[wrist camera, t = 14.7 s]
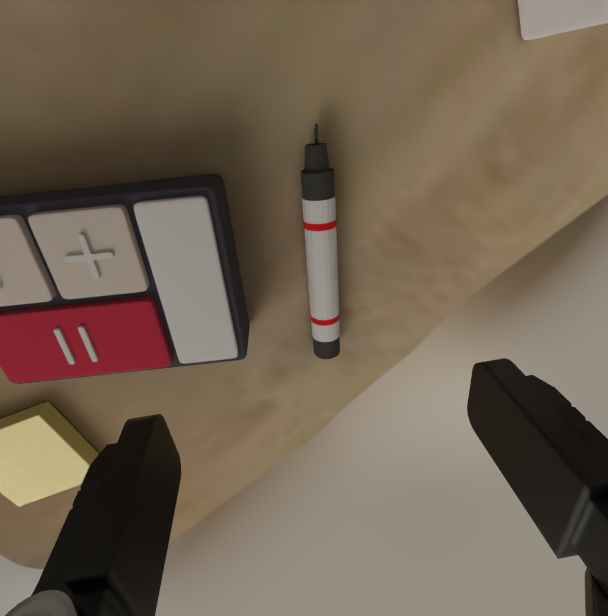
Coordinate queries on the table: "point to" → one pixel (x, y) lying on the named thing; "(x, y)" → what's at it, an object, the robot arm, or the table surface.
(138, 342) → the calculator
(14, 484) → the sticky pad
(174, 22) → the table surface
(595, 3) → the medicine bottle
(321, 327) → the marker
